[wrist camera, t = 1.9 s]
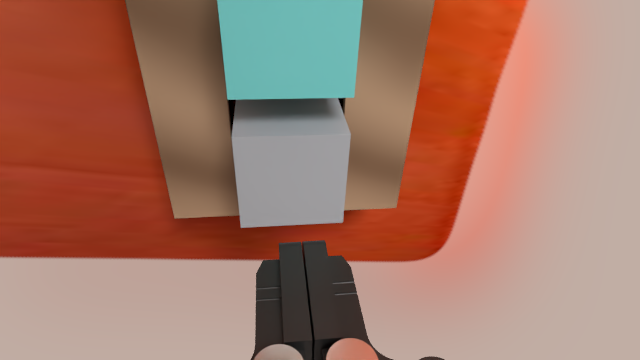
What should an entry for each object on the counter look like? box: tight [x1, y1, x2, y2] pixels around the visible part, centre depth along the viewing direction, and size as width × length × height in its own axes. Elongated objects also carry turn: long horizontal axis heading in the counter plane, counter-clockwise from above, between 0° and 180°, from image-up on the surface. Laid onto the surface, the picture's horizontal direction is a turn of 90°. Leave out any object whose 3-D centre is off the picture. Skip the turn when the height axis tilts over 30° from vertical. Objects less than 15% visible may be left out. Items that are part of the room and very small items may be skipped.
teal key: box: [217, 0, 363, 100], centre depth 15 cm, size 4×4×4 cm
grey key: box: [232, 98, 351, 228], centre depth 18 cm, size 4×4×4 cm
